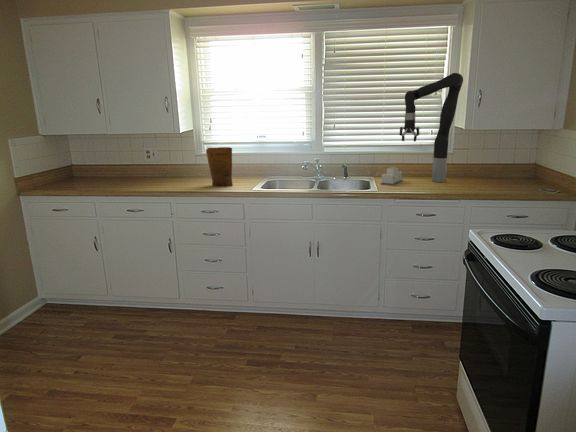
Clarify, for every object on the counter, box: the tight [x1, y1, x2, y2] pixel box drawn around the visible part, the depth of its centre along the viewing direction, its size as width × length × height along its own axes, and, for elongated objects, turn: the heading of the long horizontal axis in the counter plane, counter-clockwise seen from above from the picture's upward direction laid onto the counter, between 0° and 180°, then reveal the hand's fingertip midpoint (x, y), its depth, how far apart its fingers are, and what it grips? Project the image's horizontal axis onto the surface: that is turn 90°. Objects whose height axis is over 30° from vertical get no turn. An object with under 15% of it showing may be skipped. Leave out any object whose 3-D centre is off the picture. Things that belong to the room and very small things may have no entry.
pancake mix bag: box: [205, 146, 234, 187], centre depth 308 cm, size 7×19×28 cm, turn 75°
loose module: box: [386, 166, 399, 181], centre depth 309 cm, size 5×9×9 cm, turn 146°
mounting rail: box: [380, 170, 404, 187], centre depth 309 cm, size 9×20×7 cm, turn 146°
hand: (408, 141), depth 319 cm, fingers open, 8 cm apart
